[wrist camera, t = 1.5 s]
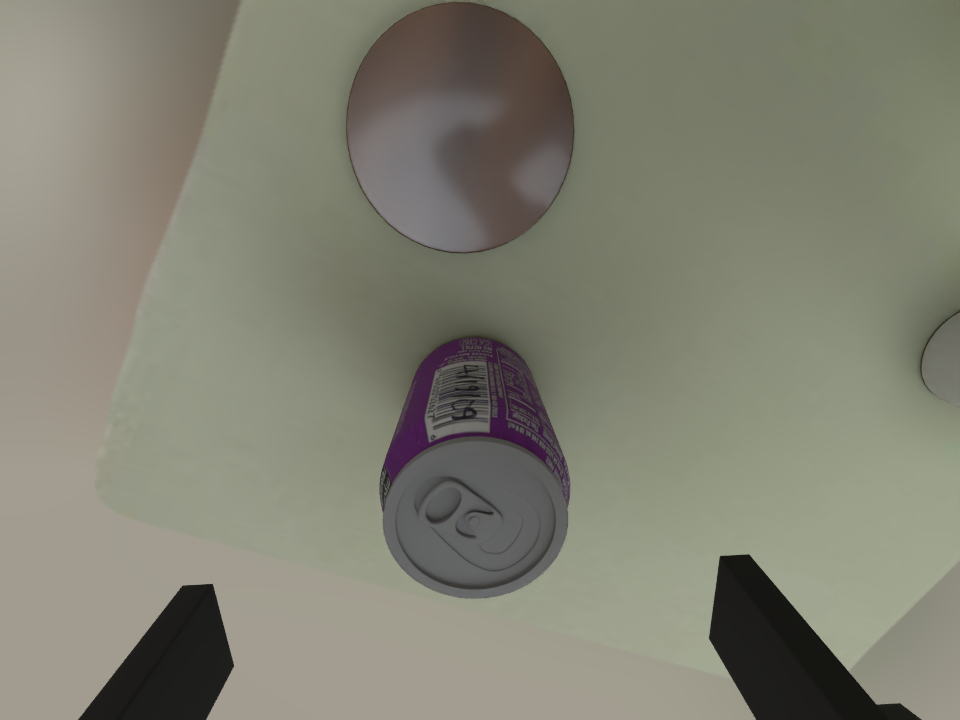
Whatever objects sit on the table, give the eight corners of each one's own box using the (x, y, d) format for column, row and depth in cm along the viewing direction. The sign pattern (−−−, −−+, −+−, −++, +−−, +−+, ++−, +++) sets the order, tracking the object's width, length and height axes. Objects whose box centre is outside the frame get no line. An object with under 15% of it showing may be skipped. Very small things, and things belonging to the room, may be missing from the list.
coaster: (573, 2, 21) (576, -4, 20) (569, 248, 24) (572, 248, 24) (334, 12, 21) (330, 6, 20) (362, 257, 24) (360, 258, 24)
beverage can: (389, 409, 27) (329, 551, 15) (455, 309, 25) (442, 385, 14) (489, 468, 28) (503, 639, 17) (558, 376, 26) (626, 497, 15)
